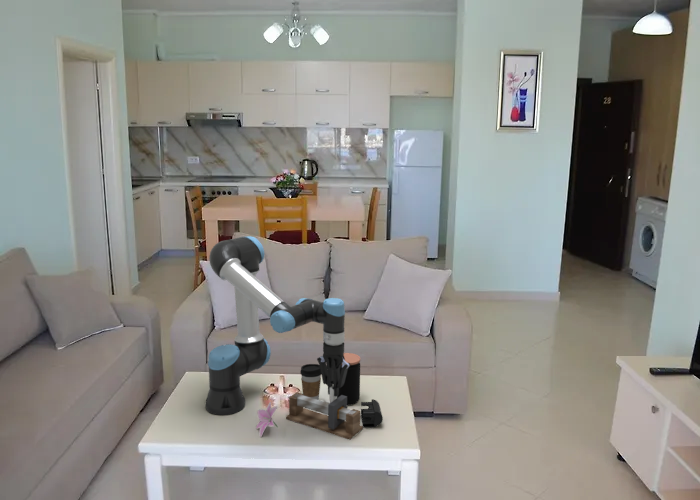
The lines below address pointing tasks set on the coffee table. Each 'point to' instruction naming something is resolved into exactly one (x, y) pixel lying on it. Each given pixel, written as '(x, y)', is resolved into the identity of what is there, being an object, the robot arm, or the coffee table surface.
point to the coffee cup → (311, 380)
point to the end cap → (371, 414)
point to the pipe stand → (323, 416)
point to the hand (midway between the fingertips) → (333, 403)
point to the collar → (332, 411)
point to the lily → (265, 418)
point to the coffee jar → (351, 379)
